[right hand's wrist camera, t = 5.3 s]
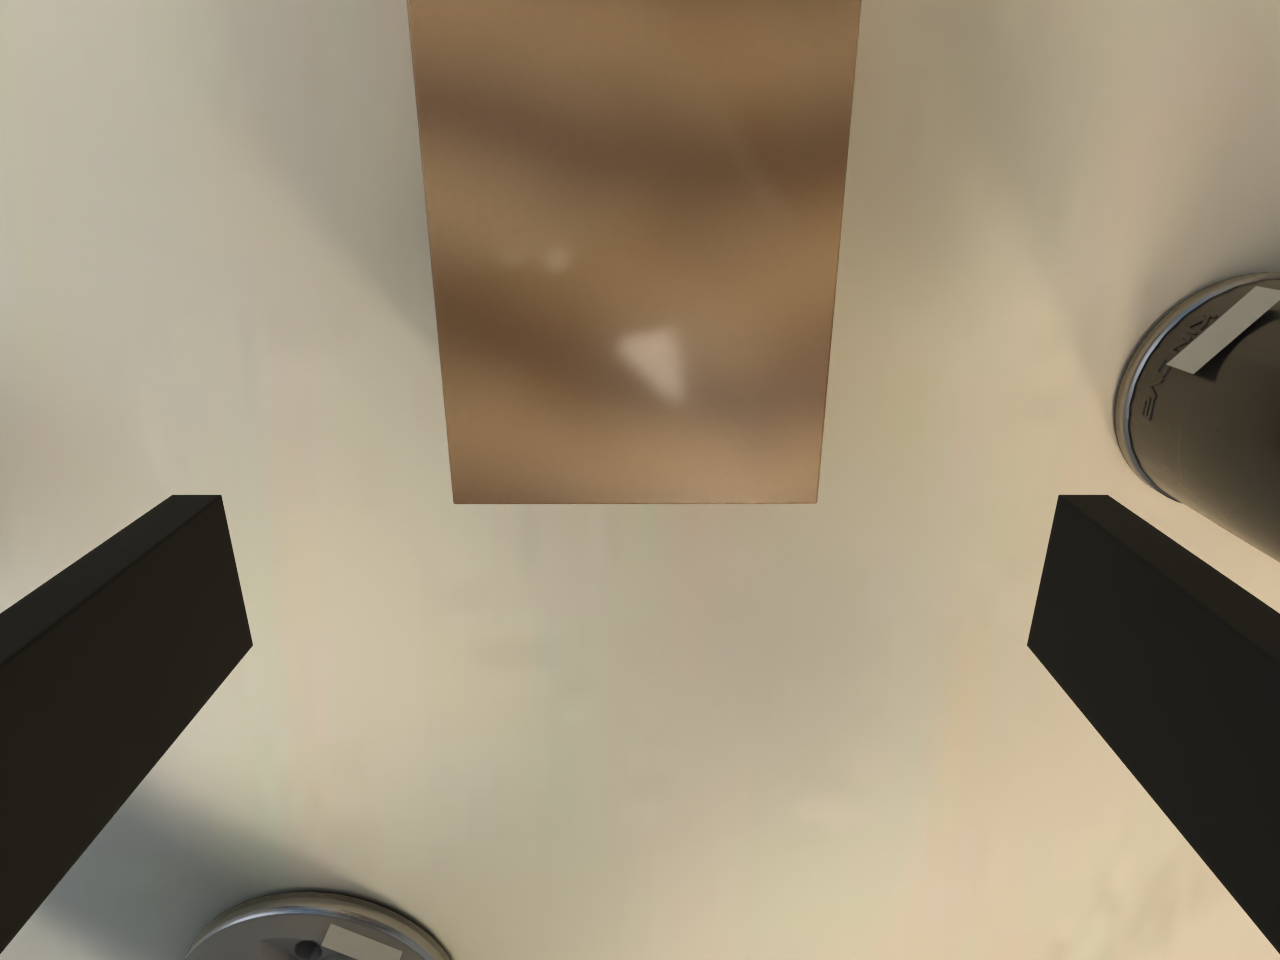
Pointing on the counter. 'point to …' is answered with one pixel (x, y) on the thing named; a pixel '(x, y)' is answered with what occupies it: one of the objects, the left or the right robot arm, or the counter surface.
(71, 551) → the counter surface
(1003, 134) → the counter surface
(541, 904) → the counter surface
